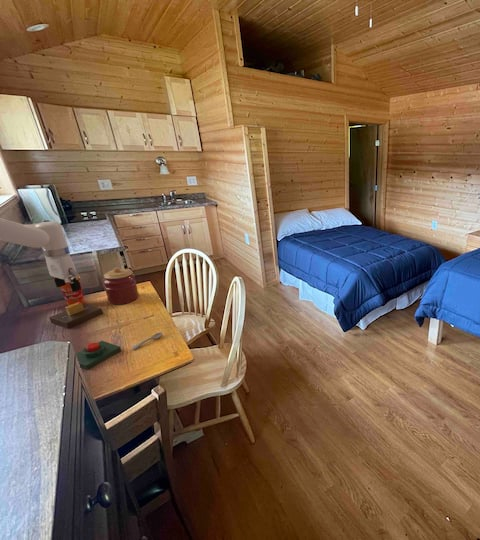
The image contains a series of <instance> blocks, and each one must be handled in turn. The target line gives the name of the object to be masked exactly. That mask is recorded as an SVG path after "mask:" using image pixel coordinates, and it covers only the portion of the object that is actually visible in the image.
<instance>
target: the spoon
mask: <svg viewBox="0 0 480 540" xmlns="http://www.w3.org/2000/svg"><path fill="white" fill-rule="evenodd" d="M162 336H163V332H157V333H155V334H153V335H152V336H151V337H147V338H146V339H144V340H142V341H140V342H138V343H136V344H134V345H133V346H131V348H130V349H131V350H132V351H135V350H137V349H138V348H140V347H141V346H142V345H143V344H145V343H147V342H149V341H150V340H151V341H152V340H158V339H160V338H161V337H162Z"/></svg>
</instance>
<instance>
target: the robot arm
mask: <svg viewBox="0 0 480 540" xmlns="http://www.w3.org/2000/svg"><path fill="white" fill-rule="evenodd" d="M63 229H64V228H63V226H62V224H61V223H60V222H58V221H41V222H37V223H30V224H24V223H20V222H16V221H12V220H9V219H5V218H2V217H0V241H1V242H7V243H10V244H15V245H18V246H19V245H20V246H24V247H28V248H32V249H39V248H42V251H43V254H44V258H45V263H46V264H45V265H46V267H47V270H48V275H49V276H50V277H51V278H52V279H53V281H54V283H55V286H56V288H60V287H61V286H64V285H66V283H65V279H68V280H69V281H70V286H71V289H72V292H75V291H78V290H81V288H82V285H81V286H80V284H81V277H80V278H79V276H80V274H79V273H78V272H77V269H76V266H75V264H74V261H73V259H72V256H71V255H70V254H71V251H70V249H69V245H68V242H67V239H66V235H65V233H64V230H63ZM70 275H71V276H70ZM73 277H74V278H73ZM71 278H73V280H72V279H71ZM79 279H80V280H79ZM79 281H80V282H79Z"/></svg>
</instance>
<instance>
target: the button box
mask: <svg viewBox="0 0 480 540" xmlns="http://www.w3.org/2000/svg"><path fill="white" fill-rule="evenodd" d="M97 343H98V344H99V347H100V348H99V349H98V350H96V351H93V352H88V351H87V348H86V346H84V348H83V349H82V350H80V351H78V352H76V353H75V354H76V355H77V358H78V361H79V364H80V367H79V368H81V369H84V370H87V371H89V370H91V369H92V368H94V367H97V366H98V365H100V364H101V363H103V362H105V361H107V360H108V359H110V358H112V357H113V356H116V355H117V354H119V353H121V352H122V347H121V346H119V345H117V344H113V343H111V342H108V341H105V340H100V341H98V342H97Z"/></svg>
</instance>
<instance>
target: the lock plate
mask: <svg viewBox="0 0 480 540" xmlns="http://www.w3.org/2000/svg"><path fill="white" fill-rule="evenodd" d="M82 305H83V308H84V310H83V311H81V312H78V313H76V314H73V315H71V316H70V315H68V314H67V311H66V310H64V311H62V312H59V313H57V314H54V315H51V316H49V317H48V319H49V321H50V324H52V325H56V326H59V327H62V328H65V329H67V330H69V329H72V328H75V327H76V326H78V325H80V324H83V323H86V322H88V321H90V320H93V319H94V318H97V317H99V316H102V315H104V312H103V309H102V307H98V306H95V305H92V304H88V303H84V304H82Z"/></svg>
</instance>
